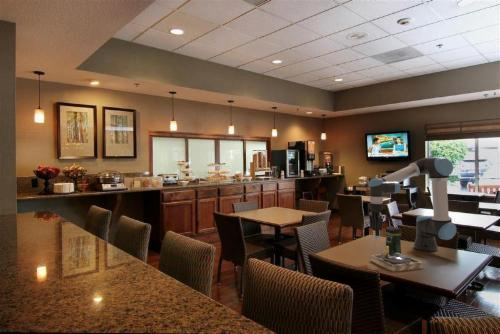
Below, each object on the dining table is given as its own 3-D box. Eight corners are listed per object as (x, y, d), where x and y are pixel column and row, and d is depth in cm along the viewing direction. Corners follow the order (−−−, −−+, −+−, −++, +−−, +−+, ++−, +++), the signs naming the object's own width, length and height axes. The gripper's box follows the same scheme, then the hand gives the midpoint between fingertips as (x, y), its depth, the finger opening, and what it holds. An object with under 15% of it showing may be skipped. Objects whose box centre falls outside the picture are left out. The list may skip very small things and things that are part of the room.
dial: (397, 255, 205) (397, 241, 205) (416, 263, 189) (416, 248, 189) (376, 257, 201) (376, 243, 200) (393, 265, 185) (393, 250, 185)
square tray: (398, 258, 207) (398, 252, 207) (422, 268, 188) (422, 261, 188) (371, 260, 202) (371, 254, 202) (393, 271, 183) (393, 264, 183)
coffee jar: (403, 256, 212) (403, 228, 211) (394, 257, 209) (394, 229, 208) (392, 252, 221) (392, 225, 220) (383, 253, 218) (383, 226, 217)
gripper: (364, 201, 207) (364, 238, 208) (377, 204, 195) (377, 243, 195) (374, 201, 209) (374, 237, 210) (388, 204, 197) (387, 242, 197)
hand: (375, 240), depth 203 cm, fingers closed
